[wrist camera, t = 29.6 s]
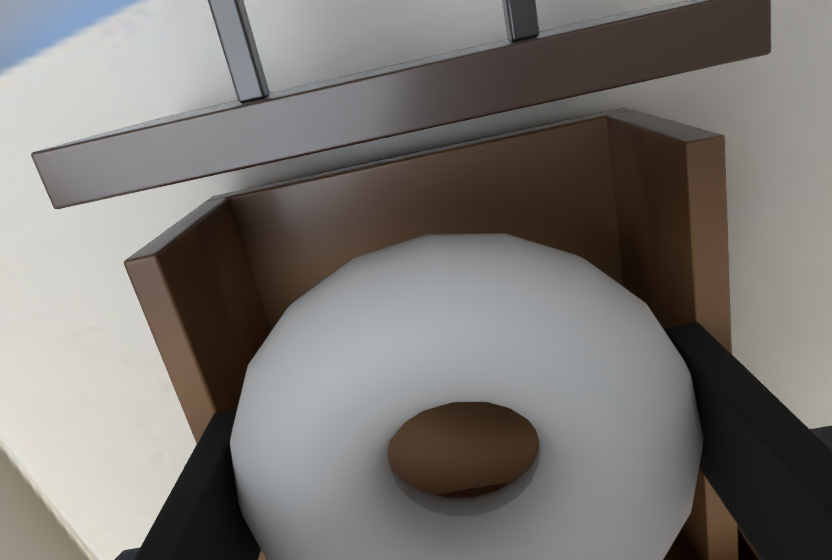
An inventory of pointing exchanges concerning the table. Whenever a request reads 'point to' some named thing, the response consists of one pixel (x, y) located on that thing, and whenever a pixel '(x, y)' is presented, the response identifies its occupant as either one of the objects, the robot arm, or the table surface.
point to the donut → (467, 382)
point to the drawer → (434, 206)
